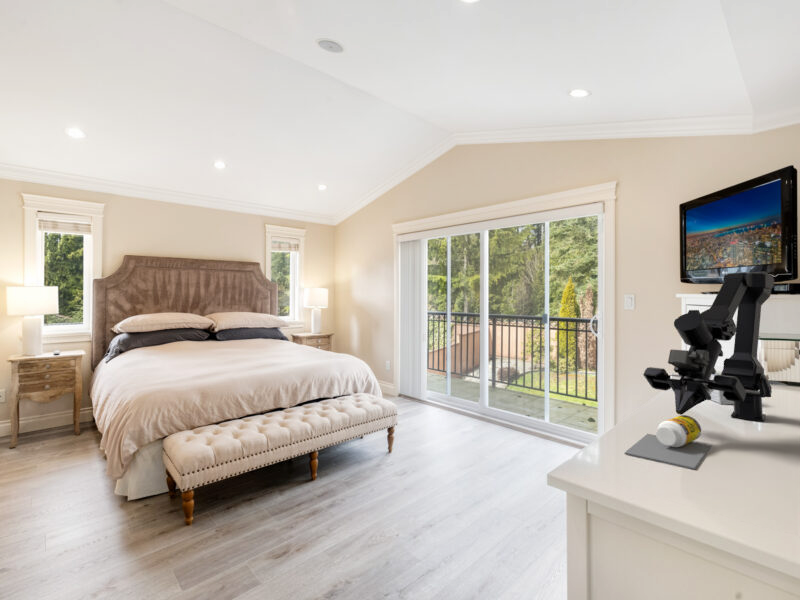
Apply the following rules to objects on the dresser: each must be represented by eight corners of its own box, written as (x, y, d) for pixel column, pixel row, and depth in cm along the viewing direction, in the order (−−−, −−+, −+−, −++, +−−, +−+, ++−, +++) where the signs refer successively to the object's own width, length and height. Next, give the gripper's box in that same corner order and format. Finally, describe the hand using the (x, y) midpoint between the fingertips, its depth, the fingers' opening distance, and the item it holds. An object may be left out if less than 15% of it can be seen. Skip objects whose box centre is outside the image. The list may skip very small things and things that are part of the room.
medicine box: (736, 404, 118) (735, 375, 118) (719, 404, 119) (718, 375, 119) (721, 398, 126) (719, 371, 126) (705, 398, 127) (703, 371, 127)
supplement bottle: (708, 428, 87) (686, 438, 81) (691, 445, 89) (669, 455, 84) (684, 409, 90) (662, 417, 85) (669, 425, 93) (646, 434, 88)
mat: (647, 435, 95) (647, 433, 95) (710, 447, 86) (710, 445, 86) (624, 454, 84) (624, 452, 84) (694, 469, 75) (694, 467, 75)
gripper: (645, 334, 100) (621, 384, 94) (737, 338, 84) (714, 399, 78) (664, 363, 104) (642, 412, 98) (755, 372, 88) (734, 432, 82)
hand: (678, 413), depth 89 cm, fingers closed
